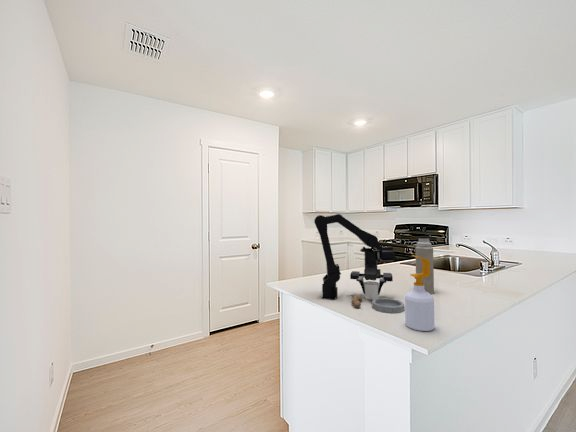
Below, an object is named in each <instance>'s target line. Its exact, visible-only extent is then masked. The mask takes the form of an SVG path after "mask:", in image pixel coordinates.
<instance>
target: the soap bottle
mask: <svg viewBox="0 0 576 432" xmlns="http://www.w3.org/2000/svg"><path fill="white" fill-rule="evenodd" d="M411 257H414V258H416V257H417V258H420V259H421V260H422V273H420V274H416V273H410V276H411V277H413V278H414V279H415V281H414V282H413V289H411V290H409V291H408V292H407V293H406V294H405V295H404V312H405V313H404V315H405V325H406V326H407V327H408V328H410V329H412V330H415V331H420V332H430V331H434V330H435V327H436V326H435V299H434V296H433V294H429V293H428V292H426V291H425V290H424V283H422V279H423V277H429V276H430V261H429V260H428V259H425V258H422V257H418V256H416V254H415V255H414V254H411Z"/></svg>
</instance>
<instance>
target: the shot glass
mask: <svg viewBox="0 0 576 432" xmlns="http://www.w3.org/2000/svg"><path fill="white" fill-rule="evenodd" d="M378 289H379V282H377V281H373V280H366V281H364V290H365V294H364V296H365V299H367V300H374V299H377V298H379V295H378Z"/></svg>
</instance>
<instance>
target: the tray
mask: <svg viewBox="0 0 576 432" xmlns="http://www.w3.org/2000/svg"><path fill="white" fill-rule="evenodd" d="M371 300H372V301H371V306H372V307H371V308H372V309H374V310H375V311H377V312H381V313H385V314H400V313H403V312H405V302H403V301H401V300H399V299H394V298H390V297H389V298H388V297H387V298H386V297H382V298H381V297H380V298H379V297H378V298H377V299H371Z"/></svg>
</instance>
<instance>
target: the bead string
mask: <svg viewBox="0 0 576 432" xmlns="http://www.w3.org/2000/svg"><path fill="white" fill-rule="evenodd" d="M362 301H363V296H362V295H361V294H357V295H355V296H353V297H352V299H351V305H353V306H354V308H356V309H357V308H360V307H361V305H362V304H361V302H362Z"/></svg>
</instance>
